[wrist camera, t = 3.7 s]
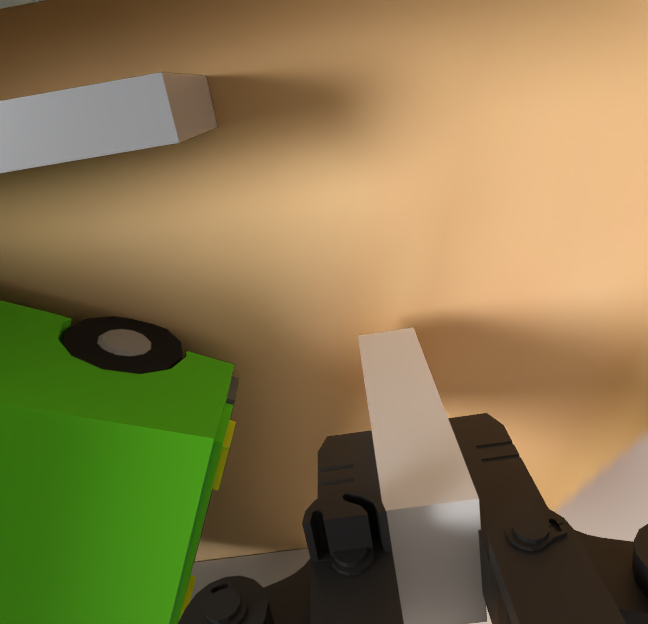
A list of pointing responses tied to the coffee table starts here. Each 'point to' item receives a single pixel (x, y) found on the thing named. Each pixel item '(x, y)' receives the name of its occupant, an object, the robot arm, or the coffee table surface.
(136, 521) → the toy car
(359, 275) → the coffee table surface
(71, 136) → the grey long bars
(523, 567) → the robot arm
